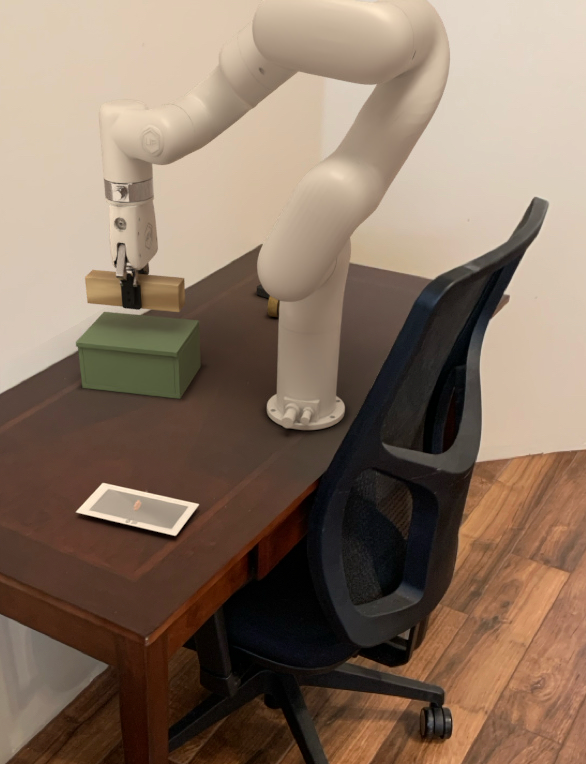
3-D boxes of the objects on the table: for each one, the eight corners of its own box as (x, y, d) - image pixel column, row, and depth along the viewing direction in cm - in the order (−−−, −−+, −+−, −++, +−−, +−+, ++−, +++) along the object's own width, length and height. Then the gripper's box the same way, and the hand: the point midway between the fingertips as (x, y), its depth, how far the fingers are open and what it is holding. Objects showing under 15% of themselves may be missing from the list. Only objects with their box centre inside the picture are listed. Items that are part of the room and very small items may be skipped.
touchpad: (103, 489, 129) (102, 476, 128) (199, 510, 124) (199, 497, 123) (76, 518, 123) (74, 505, 122) (176, 542, 118) (175, 529, 117)
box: (180, 398, 150) (178, 355, 146) (82, 387, 154) (77, 345, 150) (200, 366, 160) (199, 325, 156) (108, 356, 164) (104, 316, 159)
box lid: (177, 357, 145) (177, 352, 145) (76, 346, 149) (75, 342, 149) (199, 324, 155) (199, 320, 155) (104, 316, 159) (103, 311, 159)
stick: (179, 312, 146) (178, 285, 144) (87, 303, 150) (84, 277, 147) (185, 304, 149) (184, 277, 146) (95, 295, 152) (92, 269, 150)
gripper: (134, 207, 131) (141, 325, 142) (168, 176, 144) (172, 287, 155) (86, 203, 133) (97, 320, 144) (124, 173, 146) (131, 283, 157)
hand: (136, 302), depth 149 cm, fingers closed on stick, 3 cm apart
